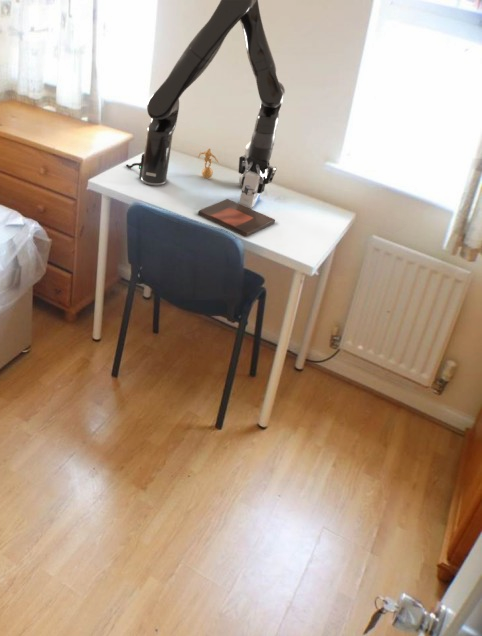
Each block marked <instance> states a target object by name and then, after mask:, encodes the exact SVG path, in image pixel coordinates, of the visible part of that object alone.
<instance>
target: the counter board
mask: <svg viewBox="0 0 482 636" xmlns="http://www.w3.org/2000/svg"><path fill="white" fill-rule="evenodd" d="M197 215H198V216H200V217H202V218H204V219H206V220H209V221H210V222H212V223H215V224H217V225H219V226H222V227H224V228H226V229H227V230H230V231H232V232H234V233H236V234H239V235H241V236H243V237H245V238H247V237H250V236H252V235H253V234H256V233H257V232H259V231H262V230H265V229H266V228H269V227H270V226H273V225H274V224H275V222H276V219H275V218H272V217H270V216H267V215H266V214H264V213H261V212H259V211H256V210H254V209H252V208H248V207H245V206H243V205H240V204H239V202H236V201H234V200H231V199H229V198H225V199H224V200H221V201H217V202H216V203H214V204H211V205H209V206H206V207H204V208H202V209H199V210H198V212H197Z"/></svg>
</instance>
